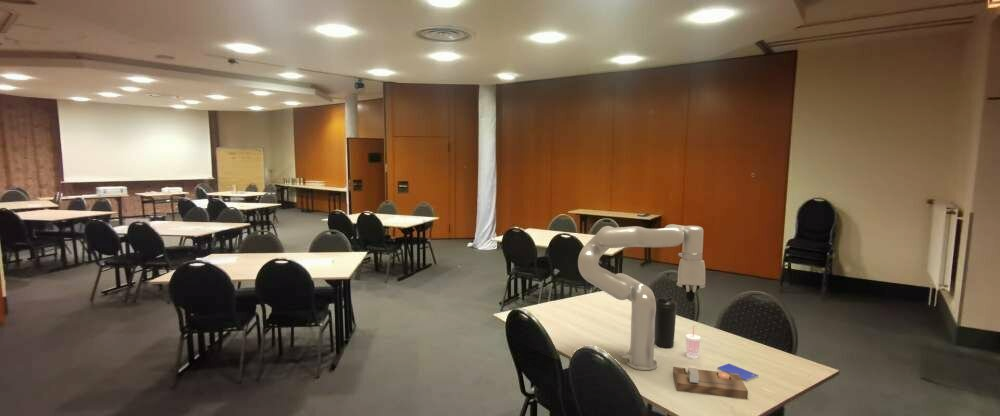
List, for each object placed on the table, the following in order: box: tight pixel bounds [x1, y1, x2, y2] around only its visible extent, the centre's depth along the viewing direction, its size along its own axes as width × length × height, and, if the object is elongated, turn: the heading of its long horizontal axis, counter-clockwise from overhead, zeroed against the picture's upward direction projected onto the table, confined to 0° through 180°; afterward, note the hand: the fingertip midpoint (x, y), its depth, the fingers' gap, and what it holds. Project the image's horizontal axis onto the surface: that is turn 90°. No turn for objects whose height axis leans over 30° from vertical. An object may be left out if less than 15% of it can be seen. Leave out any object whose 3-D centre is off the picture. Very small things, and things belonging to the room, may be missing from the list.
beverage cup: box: [685, 325, 702, 359], centre depth 202 cm, size 6×6×14 cm
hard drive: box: [716, 363, 759, 383], centre depth 187 cm, size 2×8×12 cm
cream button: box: [684, 364, 697, 375], centre depth 181 cm, size 4×4×3 cm
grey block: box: [688, 367, 699, 383], centre depth 174 cm, size 3×5×4 cm, turn 165°
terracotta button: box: [718, 371, 730, 379], centre depth 178 cm, size 4×4×3 cm
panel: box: [672, 366, 749, 400], centre depth 176 cm, size 24×14×3 cm, turn 75°
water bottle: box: [654, 294, 678, 349], centre depth 214 cm, size 10×10×23 cm
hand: (690, 300), depth 187 cm, fingers closed
